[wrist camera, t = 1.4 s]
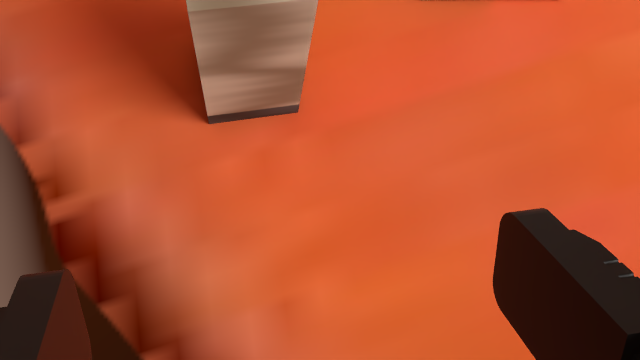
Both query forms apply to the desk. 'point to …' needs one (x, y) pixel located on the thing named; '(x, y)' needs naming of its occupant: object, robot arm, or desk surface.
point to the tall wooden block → (251, 55)
